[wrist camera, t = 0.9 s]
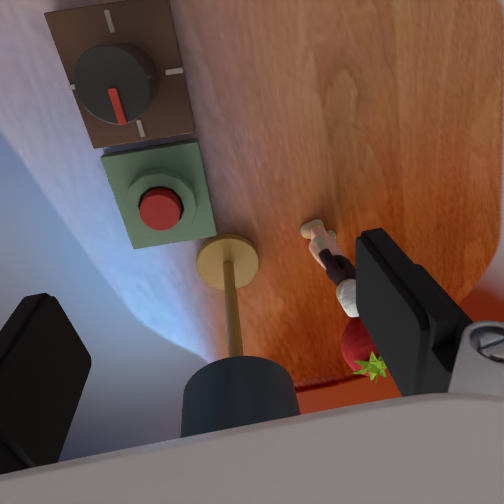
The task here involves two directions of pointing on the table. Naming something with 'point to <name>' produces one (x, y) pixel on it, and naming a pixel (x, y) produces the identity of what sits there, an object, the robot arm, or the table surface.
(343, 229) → the table surface
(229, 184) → the table surface
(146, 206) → the lamp switch
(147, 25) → the dimmer panel
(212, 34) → the table surface
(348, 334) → the strawberry
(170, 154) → the switch base
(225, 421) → the desk lamp
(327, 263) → the grandmother figurine
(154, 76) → the dimmer knob
